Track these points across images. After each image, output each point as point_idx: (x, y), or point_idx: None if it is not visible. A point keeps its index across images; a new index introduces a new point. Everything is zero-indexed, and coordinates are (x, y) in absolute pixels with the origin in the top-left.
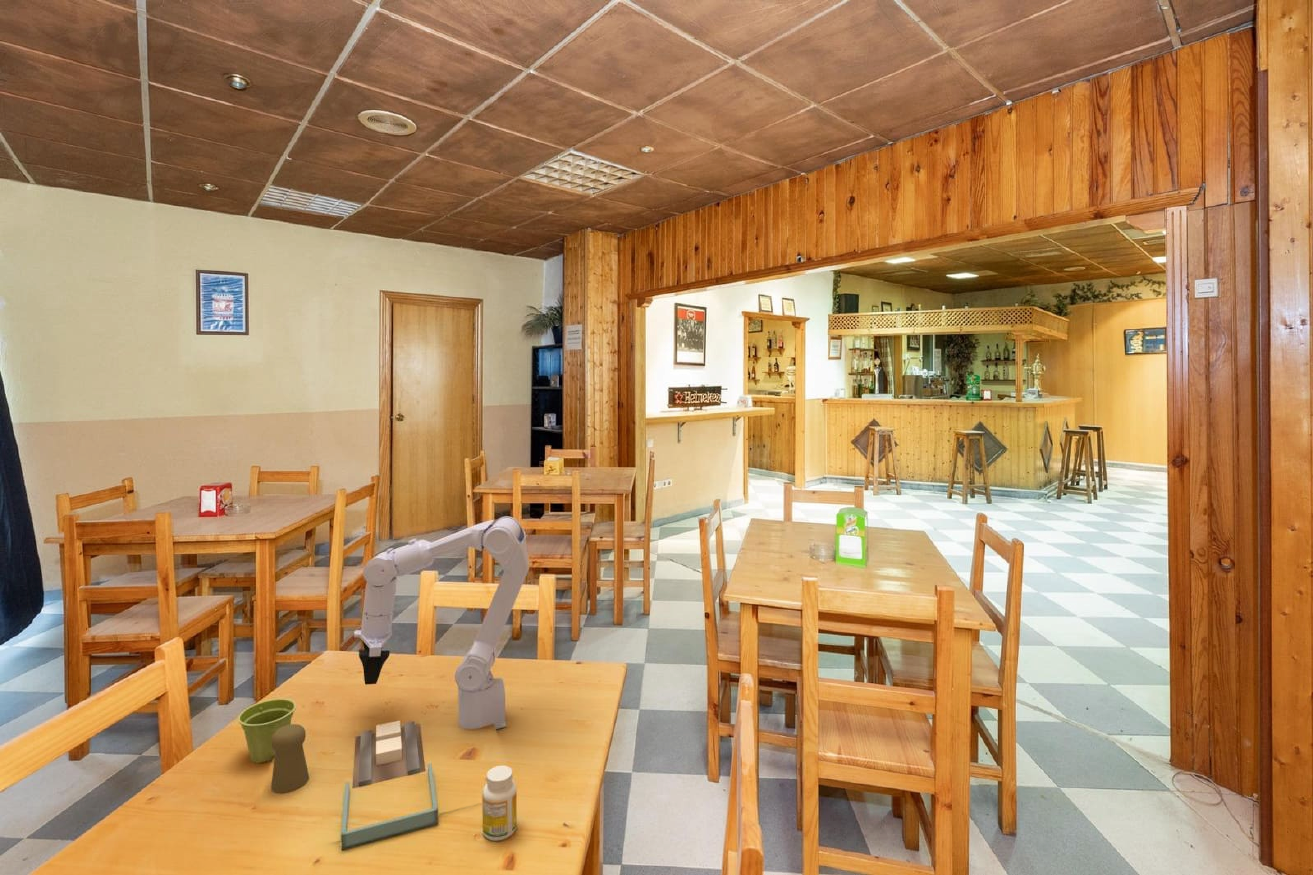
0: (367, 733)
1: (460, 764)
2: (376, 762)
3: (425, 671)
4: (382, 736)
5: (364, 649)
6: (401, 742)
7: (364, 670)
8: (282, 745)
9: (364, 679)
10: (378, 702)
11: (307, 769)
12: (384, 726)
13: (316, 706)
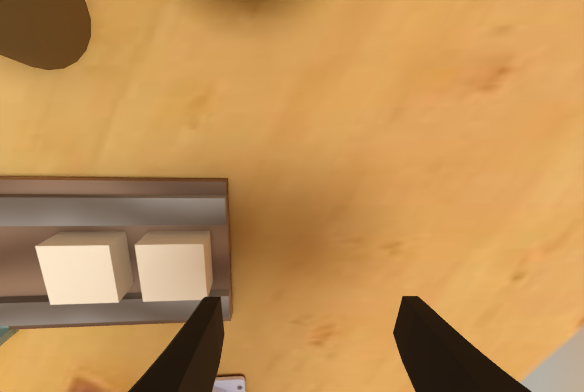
0: (208, 214)
1: (52, 377)
2: (53, 236)
3: (499, 324)
4: (137, 258)
5: (477, 385)
6: None
7: (140, 379)
8: None
9: (191, 315)
10: (405, 227)
11: (24, 55)
12: (187, 264)
13: (476, 69)
